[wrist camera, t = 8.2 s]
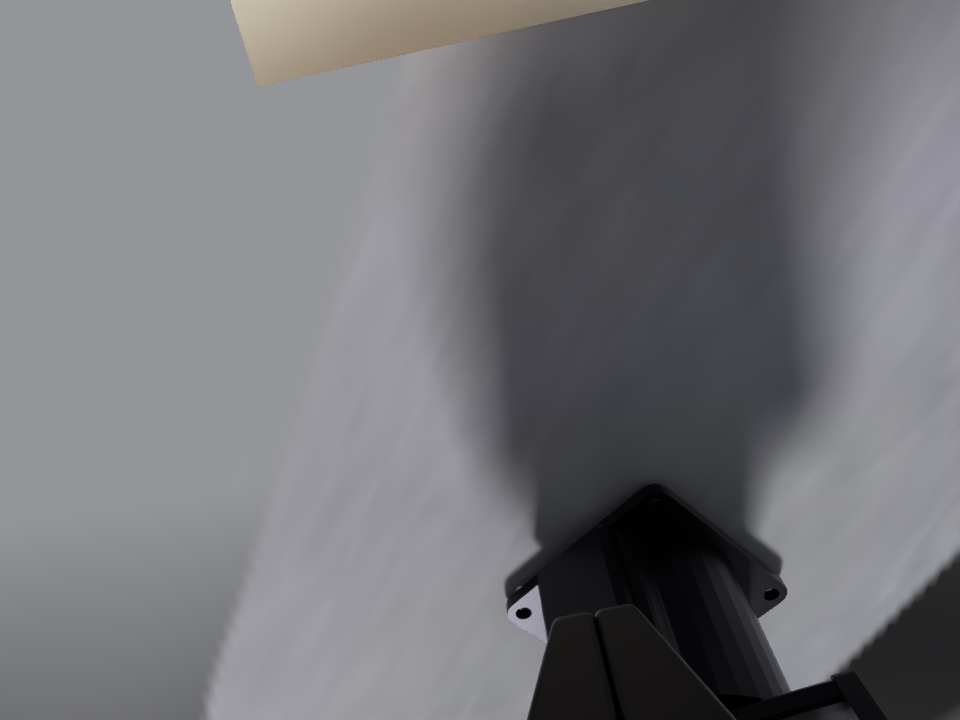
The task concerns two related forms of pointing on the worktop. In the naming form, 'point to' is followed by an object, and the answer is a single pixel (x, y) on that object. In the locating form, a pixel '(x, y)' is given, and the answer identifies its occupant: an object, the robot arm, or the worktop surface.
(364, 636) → the worktop surface
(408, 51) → the plate
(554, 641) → the robot arm
